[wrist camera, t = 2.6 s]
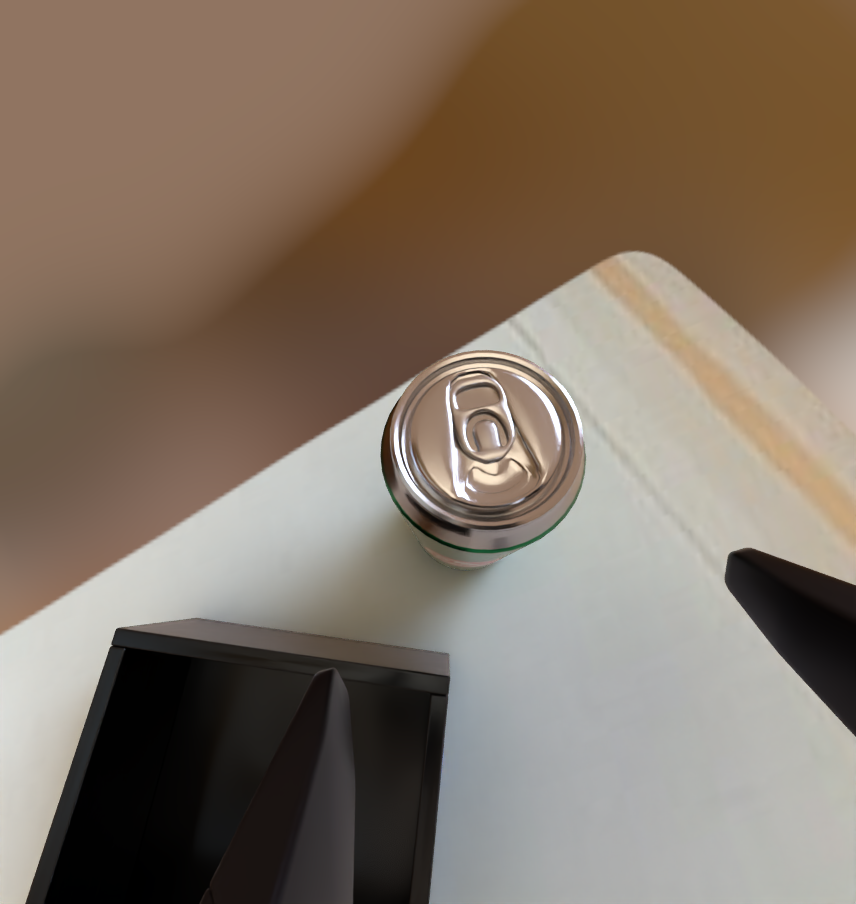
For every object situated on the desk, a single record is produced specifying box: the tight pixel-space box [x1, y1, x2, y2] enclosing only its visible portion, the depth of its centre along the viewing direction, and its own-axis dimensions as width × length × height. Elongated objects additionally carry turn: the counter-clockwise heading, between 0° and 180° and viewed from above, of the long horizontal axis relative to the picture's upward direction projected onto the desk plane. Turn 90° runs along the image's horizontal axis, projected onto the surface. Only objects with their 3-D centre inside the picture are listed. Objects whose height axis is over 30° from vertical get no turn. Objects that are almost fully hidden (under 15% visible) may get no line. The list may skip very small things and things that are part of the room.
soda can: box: [381, 350, 586, 570], centre depth 15 cm, size 5×5×12 cm
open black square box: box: [25, 618, 450, 904], centre depth 15 cm, size 11×12×5 cm
